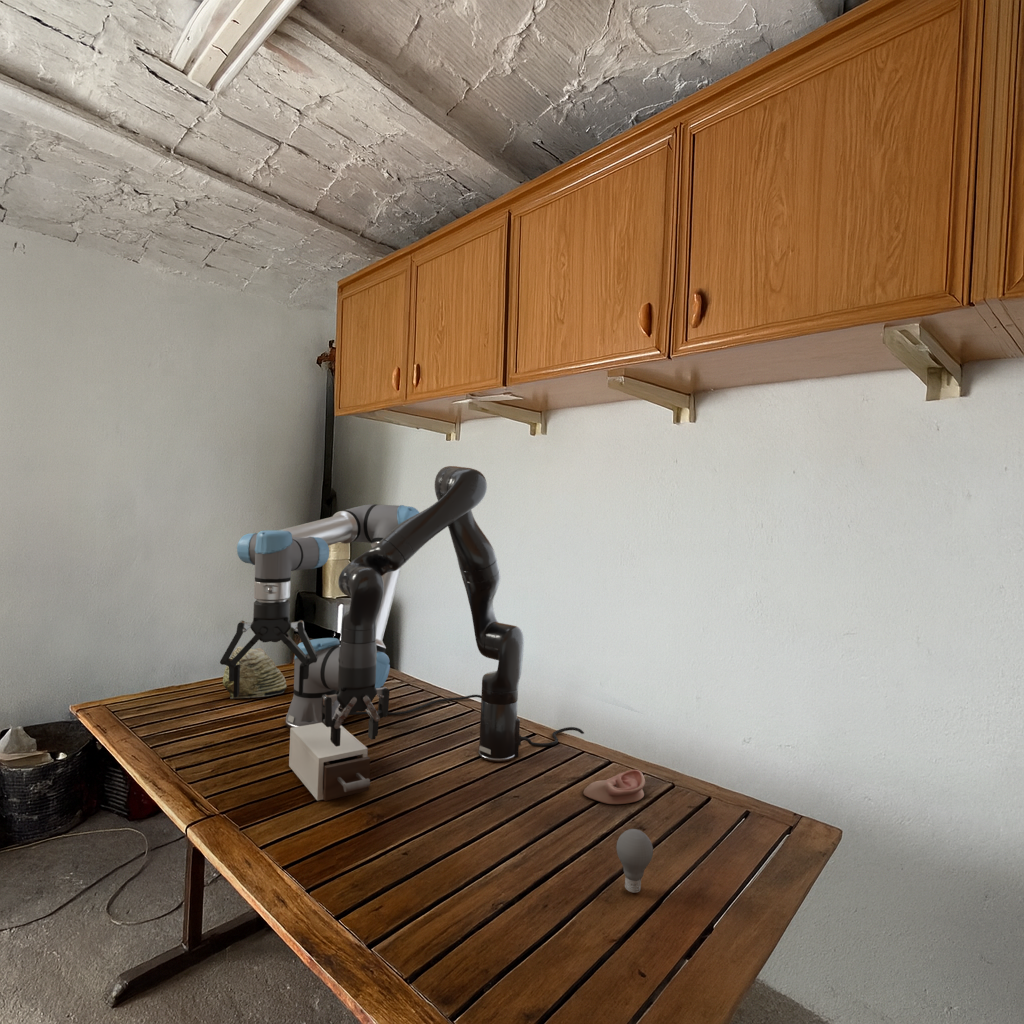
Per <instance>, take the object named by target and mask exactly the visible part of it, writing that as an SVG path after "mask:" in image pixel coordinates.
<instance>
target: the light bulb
mask: <svg viewBox="0 0 1024 1024" xmlns="http://www.w3.org/2000/svg"><path fill="white" fill-rule="evenodd" d="M615 849H616V854H617V857H618V859H619V861H620V863H621V865H622V867H623V873H624V874H623V875H624V876H625V878H624V888H625V890H627V891H628V892H630V893H634V894H635V893H639V892H640V891H641V889H642V887H641V886H642V879H643V877H644V875H645V871H646V868H647V867H648V866H649V864H650V863H651V861H652V859H653V855H654V847H653V843H652V841H651V838H649V836H648V835H647V834H646V833H645V832H643V831H642V830H641V829H636V828H629V829H627V830H625V831H623V832H622V833H621V834H620V835H619V837H618V839H617V841H616V847H615Z"/></svg>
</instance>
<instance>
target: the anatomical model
mask: <svg viewBox="0 0 1024 1024" xmlns="http://www.w3.org/2000/svg"><path fill="white" fill-rule="evenodd" d="M645 785H646V779H645V775H644V773H643V772H642V771H641V770H639V769H630V770H626V771H623V772H620V773H618V774H616V775H613V776H612V777H609V778H607V779H604V780H597V781H595V780H594V781H593V782H591V783H589V784H588V785H587V786H586V787H585V788H584V790H583V793H582V794H583V796H585V797H586V798H588V799H591V800H594V801H596V802H600V803H603V804H607V805H624V804H630V803H636V802H638V801H640V800H642V799H643V798H644V796H645V792H644V790H643V789H644V787H645Z"/></svg>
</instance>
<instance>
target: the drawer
mask: <svg viewBox="0 0 1024 1024" xmlns="http://www.w3.org/2000/svg"><path fill="white" fill-rule="evenodd" d="M370 775H371V758H370V756H367V757H364V758H361V756H360V755H357V756H352V757H347V758H342V759H337V760H333V761H328V762H324V769H323V801H324V802H327V801H332V800H335V799H339V798H342V797H347V796H351V795H355V794H359V793H363V792H367V791H370V786H371V780H370Z"/></svg>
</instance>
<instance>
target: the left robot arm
mask: <svg viewBox="0 0 1024 1024" xmlns="http://www.w3.org/2000/svg"><path fill="white" fill-rule="evenodd" d="M418 513H420V511H419V510H418V509H417V508H416V507H414V506H408V505H404V504H400V505H397V504H376V503H370V504H363V505H359V506H354V507H351V508H347V509H343V510H340V511H337V512H335V513H334V514H333V515H332V516H330V517H326V518H321V519H318V520H313V521H310V522H306V523H302V524H298V525H293V526H291V527H290V526H289V527H285V528H281V529H278V530H277V529H276V530H275V529H269V530H268V529H266V530H260V531H259V532H253V533H246V534H244V535H242V536H241V537H240V538H239V540H238V542H237V545H236V552H237V556H238V558H239V560H240V561H241V562H243V563H245V564H249V565H252V566H254V589H253V598H254V599H255V601H254V602H253V618H252V622H249V621H247V622H246V621H245V620H240V621H239V622H238V623H237V626H236V631H235V634H234V636H233V637H232V639H231V641H230V643H229V644H228V646H227V648H226V650H225V652H224V653H223V655H222V657H221V658H220V661H219V664H220V665H222V666H223V665H224V666H226V665H227V666H228V667H229V681H234V693H233V697H238V695H239V685H240V665H236V664H237V663H238V662H239V661H240V659H241V658H242V657H243V656H244V655H245V654H246V653H247V652H248V651H249V650H250V649H253V647H254V646H255V645H256V644H257V643H258V641H260V642H262V643H269V642H272V643H278V642H280V641H281V642H282V643H283V644H284V645H286V646H287V648H288V649H289V650H290V651H291V652H292V654H293V655H294V657H293V659H294V660H293V662H294V663H293V665H294V667H293V695H292V696H293V697H292V699H291V702H290V704H289V708H288V711H287V713H286V715H285V726H286V728H287V729H289V730H290V728H293V727H299V726H305V725H311V724H316V723H322V696H323V695H324V694H326V695H334V694H336V692H337V690H338V671H339V662H338V658H339V650H340V645H341V642H340V640H339V638H336V637H322V638H313V639H310V638H309V636H308V634H307V632H306V630H305V622H304V620H302V619H299V620H298V621H293V622H292V621H291V620H290V611H291V610H290V608H291V602H290V601H289V599H291V583H292V581H291V578H292V576H291V575H292V572H295V571H303V570H314V569H316V568H317V569H318V568H321V567H323V566H324V565H325V564H327V562H328V560H329V559H330V546H331V545H336V544H339V543H340V544H346V545H347V544H350V543H368V544H370V547H371V549H372V548H373V547H375V546H376V545H377V544H378V543H379V542H380V541H381V540H382V539H383V538H384V537H385V536H386V535H387V534H389V533H390V532H391V531H392V530H393V529H394V528H395V527H397V526H398V525H399V524H401V523H402V522H404V521H405V520H407V519H409V518H411V517H413V516H415V515H416V514H418ZM401 570H402V567H400V568H399V569H398V570H396V571H392V572H388V573H386V574H384V575H383V576H382V578H383V582H384V593H383V598H382V602H381V606H380V610H379V614H378V617H377V620H376V623H377V628H376V648H377V658H376V682H375V688H380V687H381V686H384V685H385V683H386V681H387V679H388V677H389V674H390V670H391V664H390V663H391V662H390V658H389V655H387V654H386V650H387V647H386V645H385V643H384V641H383V639H384V635H385V631H386V629H387V625H388V620H389V617H390V613H391V610H392V606H393V602H394V598H395V594H396V590H397V586H398V583H399V578H400V575H401V572H402V571H401ZM249 629H250V630H251V631H252V632H253V634H254V635H253V636H252V638H251V639H250V640H248V642H247V643H246V644H244V646H242V647H243V649H242V650H241V651H240V652H239V653H238V654H237V655H236V656H235V657H234V658H233V659H230V657H231V655H232V653H233V652H234V651H235V649H236V646H237V645H238V643H239V642H240V639H241V638H242V636H243V635H244V633H246V632H247V631H249ZM291 629H293V630H294V632H296V633H298V634H297V635H298V636H299V638H300V640H301V642H299V643H298V644H297V643H296V642H295V641H294V640H293V639H292V637H291V635H290V634H289V633H288V632H289V631H290V630H291ZM227 666H226V667H227ZM472 698H479V699H481V694H470V695H466V696H459V697H456V696H455V697H445V698H439V699H434V700H432V701H429V702H427V703H425V704H422V705H419V706H416V707H414V708H411V709H407V710H404V711H394V712H393V711H391V712H390V711H388V715H387V716H399V715H400V716H401V715H406V714H410V713H413V712H415V711H419V710H421V709H424V708H426V707H429V706H430V705H434V704H436V703H442V702H448V701H449V702H450V701H460V700H462V701H463V700H467V699H472ZM338 705H339V702H338V701H337V700H336V701H335V702H334V705H333V706H332V718H333V716H334V715H335V711H336V709H337V707H338ZM361 715H362V716H363V715H364V716H365V715H369V714H368V713H367V711H362V712H361V711H357V712H355V713H349V714H348V716H361Z"/></svg>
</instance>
